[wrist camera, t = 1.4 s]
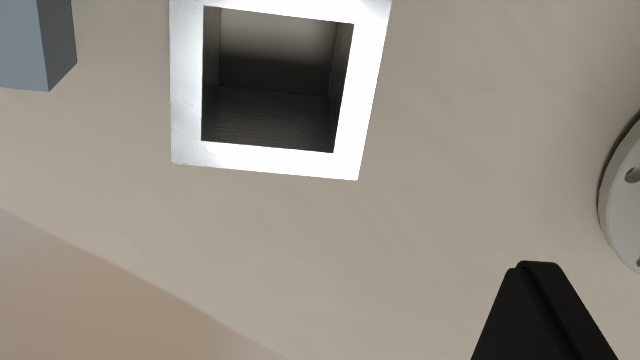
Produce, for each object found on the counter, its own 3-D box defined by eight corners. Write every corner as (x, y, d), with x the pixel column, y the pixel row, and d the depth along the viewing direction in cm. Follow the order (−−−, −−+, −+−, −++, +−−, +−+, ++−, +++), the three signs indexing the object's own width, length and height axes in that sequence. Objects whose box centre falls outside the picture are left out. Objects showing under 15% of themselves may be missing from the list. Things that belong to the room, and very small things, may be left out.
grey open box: (373, -38, 21) (393, -6, 16) (346, 119, 24) (356, 180, 20) (195, -62, 20) (169, -34, 16) (194, 104, 23) (171, 163, 19)
